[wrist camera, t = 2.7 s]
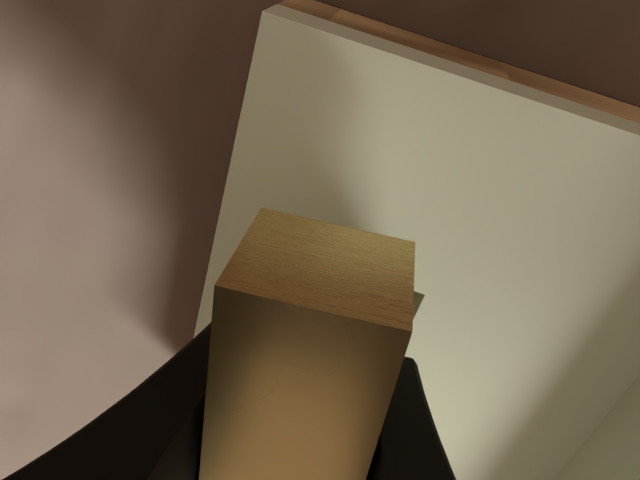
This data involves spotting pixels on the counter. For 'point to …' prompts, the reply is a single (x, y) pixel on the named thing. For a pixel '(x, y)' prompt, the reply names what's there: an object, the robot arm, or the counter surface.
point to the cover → (464, 235)
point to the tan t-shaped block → (304, 350)
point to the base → (466, 58)
